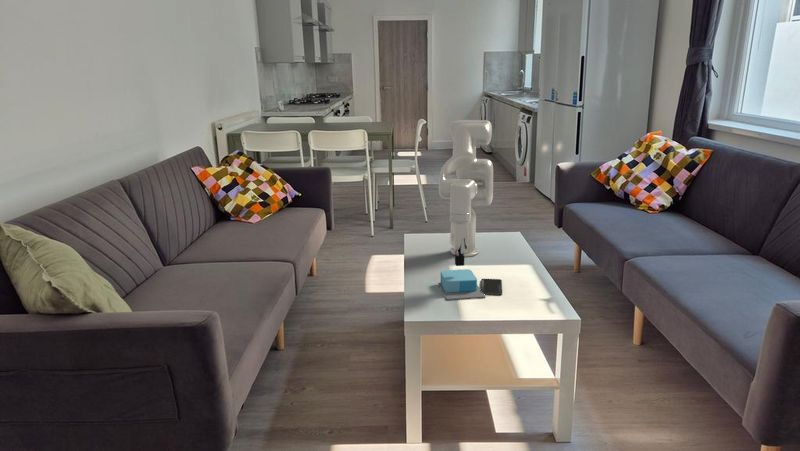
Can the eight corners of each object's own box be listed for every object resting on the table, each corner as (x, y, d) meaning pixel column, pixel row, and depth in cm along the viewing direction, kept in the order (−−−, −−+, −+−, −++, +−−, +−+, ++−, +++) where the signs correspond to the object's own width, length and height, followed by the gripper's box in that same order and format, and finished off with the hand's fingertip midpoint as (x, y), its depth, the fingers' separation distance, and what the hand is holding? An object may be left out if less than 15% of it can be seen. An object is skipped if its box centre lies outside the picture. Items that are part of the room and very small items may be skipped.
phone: (480, 292, 198) (481, 278, 212) (480, 295, 198) (481, 281, 212) (502, 293, 196) (502, 279, 211) (502, 296, 197) (501, 282, 211)
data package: (439, 281, 210) (445, 293, 198) (439, 270, 209) (445, 281, 197) (470, 279, 211) (477, 291, 199) (470, 268, 210) (478, 279, 198)
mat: (438, 284, 208) (438, 282, 208) (474, 282, 210) (474, 280, 210) (446, 300, 193) (446, 298, 193) (485, 298, 195) (485, 296, 195)
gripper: (445, 212, 204) (445, 259, 209) (454, 222, 190) (453, 272, 195) (465, 211, 205) (464, 258, 210) (475, 221, 191) (474, 271, 195)
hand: (459, 264), depth 202 cm, fingers closed
